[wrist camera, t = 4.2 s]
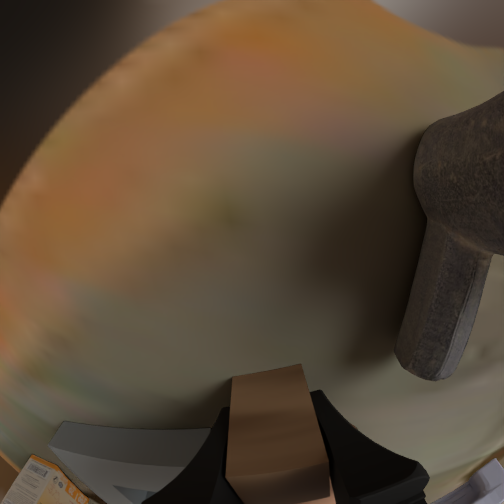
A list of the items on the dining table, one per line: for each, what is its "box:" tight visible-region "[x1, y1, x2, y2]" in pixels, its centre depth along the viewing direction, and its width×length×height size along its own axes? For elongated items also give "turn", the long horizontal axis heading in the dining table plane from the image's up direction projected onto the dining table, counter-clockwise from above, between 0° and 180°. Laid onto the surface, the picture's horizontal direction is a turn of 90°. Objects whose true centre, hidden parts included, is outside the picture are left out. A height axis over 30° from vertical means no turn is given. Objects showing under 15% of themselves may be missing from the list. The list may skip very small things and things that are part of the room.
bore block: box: [48, 421, 211, 504], centre depth 13 cm, size 12×12×3 cm
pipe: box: [394, 91, 504, 381], centre depth 7 cm, size 6×13×8 cm, turn 171°
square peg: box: [226, 364, 330, 504], centre depth 10 cm, size 3×3×6 cm
